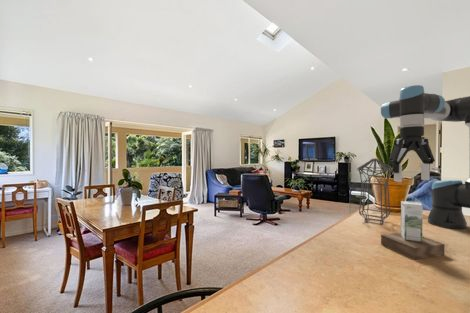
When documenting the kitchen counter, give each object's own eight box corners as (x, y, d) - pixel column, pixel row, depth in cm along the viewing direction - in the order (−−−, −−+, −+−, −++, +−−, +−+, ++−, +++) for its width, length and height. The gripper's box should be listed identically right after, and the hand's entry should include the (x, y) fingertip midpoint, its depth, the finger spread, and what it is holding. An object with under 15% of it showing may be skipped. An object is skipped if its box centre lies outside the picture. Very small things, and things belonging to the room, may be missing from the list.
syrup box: (418, 237, 92) (418, 201, 92) (422, 242, 87) (422, 204, 87) (400, 235, 94) (400, 200, 94) (404, 240, 89) (404, 203, 89)
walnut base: (408, 241, 99) (408, 231, 99) (444, 255, 85) (444, 244, 85) (381, 244, 96) (381, 234, 96) (414, 259, 82) (414, 248, 82)
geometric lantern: (392, 221, 128) (393, 158, 127) (388, 228, 116) (389, 159, 115) (361, 215, 138) (361, 157, 137) (354, 222, 127) (355, 158, 125)
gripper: (426, 127, 97) (426, 178, 97) (377, 127, 91) (377, 181, 91) (446, 125, 90) (446, 180, 90) (394, 125, 84) (394, 183, 84)
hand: (411, 180), depth 91 cm, fingers open, 13 cm apart
